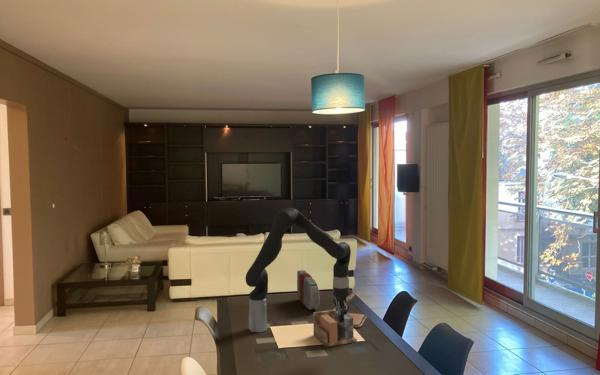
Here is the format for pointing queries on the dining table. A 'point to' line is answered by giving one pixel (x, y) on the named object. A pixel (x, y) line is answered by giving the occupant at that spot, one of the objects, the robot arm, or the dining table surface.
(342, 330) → the shelf
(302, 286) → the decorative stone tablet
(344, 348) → the dining table surface
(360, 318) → the case
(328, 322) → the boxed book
